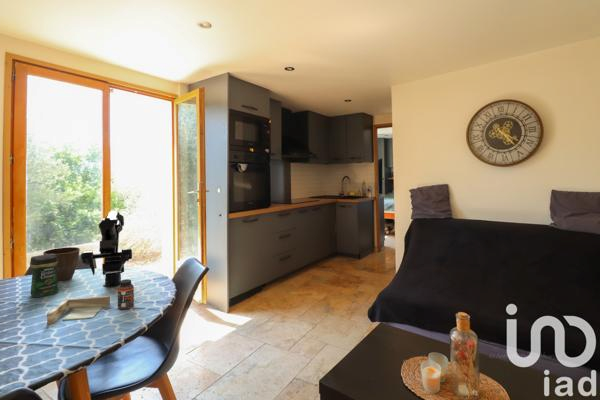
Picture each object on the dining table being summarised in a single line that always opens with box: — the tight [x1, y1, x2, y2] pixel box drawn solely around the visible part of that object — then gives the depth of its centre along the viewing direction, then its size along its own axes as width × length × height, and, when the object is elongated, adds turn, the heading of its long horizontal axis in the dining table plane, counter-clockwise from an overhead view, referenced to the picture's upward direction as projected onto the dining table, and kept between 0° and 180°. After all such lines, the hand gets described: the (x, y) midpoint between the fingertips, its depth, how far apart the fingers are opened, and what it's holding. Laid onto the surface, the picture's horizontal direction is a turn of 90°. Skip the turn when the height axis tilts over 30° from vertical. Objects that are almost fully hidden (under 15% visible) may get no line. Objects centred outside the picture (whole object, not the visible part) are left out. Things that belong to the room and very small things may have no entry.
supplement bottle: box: [117, 278, 135, 310], centre depth 123 cm, size 6×6×11 cm
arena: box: [46, 295, 111, 325], centre depth 116 cm, size 14×16×4 cm
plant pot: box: [42, 246, 81, 283], centre depth 153 cm, size 15×15×16 cm
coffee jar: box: [29, 254, 59, 298], centre depth 134 cm, size 10×8×19 cm
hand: (106, 273), depth 124 cm, fingers open, 9 cm apart
